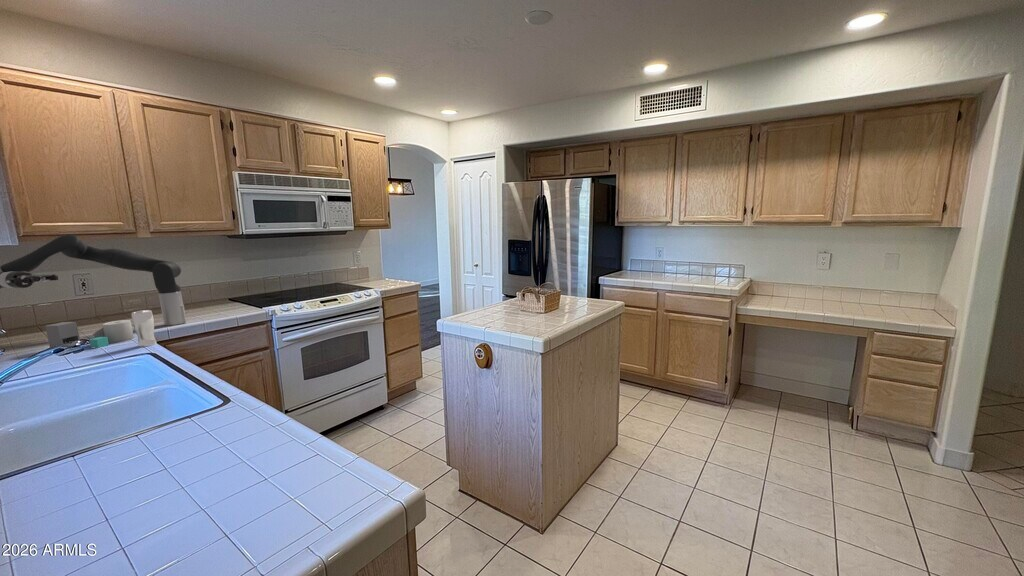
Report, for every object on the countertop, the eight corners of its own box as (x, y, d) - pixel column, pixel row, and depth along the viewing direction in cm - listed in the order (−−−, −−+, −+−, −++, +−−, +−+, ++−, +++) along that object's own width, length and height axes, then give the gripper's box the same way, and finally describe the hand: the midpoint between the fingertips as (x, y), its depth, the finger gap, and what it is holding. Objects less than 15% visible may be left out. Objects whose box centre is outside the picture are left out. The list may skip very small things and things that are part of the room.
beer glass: (133, 346, 179) (126, 312, 176) (151, 342, 185) (146, 309, 183) (143, 347, 176) (136, 313, 174) (161, 343, 183) (155, 310, 180)
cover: (68, 345, 184) (63, 321, 182) (81, 346, 183) (76, 321, 181) (50, 350, 177) (45, 325, 176) (63, 350, 176) (57, 325, 175)
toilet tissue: (94, 342, 188) (90, 324, 186) (133, 336, 197) (130, 318, 196) (94, 346, 181) (90, 327, 180) (134, 339, 191) (131, 321, 189)
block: (101, 345, 183) (99, 336, 182) (108, 345, 182) (107, 336, 182) (91, 348, 179) (89, 339, 178) (98, 348, 178) (96, 339, 178)
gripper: (-8, 273, 178) (22, 272, 175) (34, 269, 192) (62, 268, 189) (-4, 290, 179) (25, 290, 176) (38, 285, 193) (66, 284, 190)
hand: (45, 279), depth 183 cm, fingers open, 8 cm apart
